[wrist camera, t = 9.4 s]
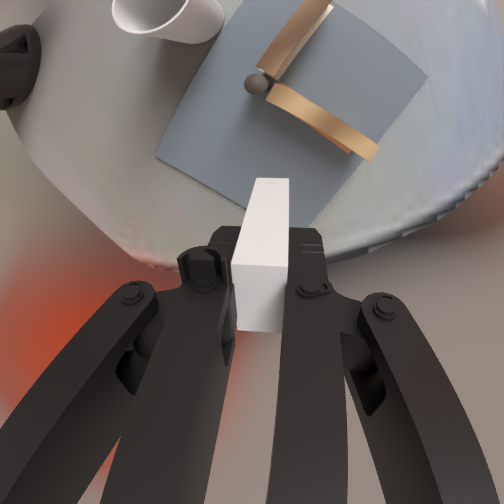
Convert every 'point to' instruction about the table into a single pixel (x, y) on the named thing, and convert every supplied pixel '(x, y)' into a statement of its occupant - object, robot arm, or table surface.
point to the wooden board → (322, 120)
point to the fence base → (284, 44)
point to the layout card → (279, 120)
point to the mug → (170, 19)
